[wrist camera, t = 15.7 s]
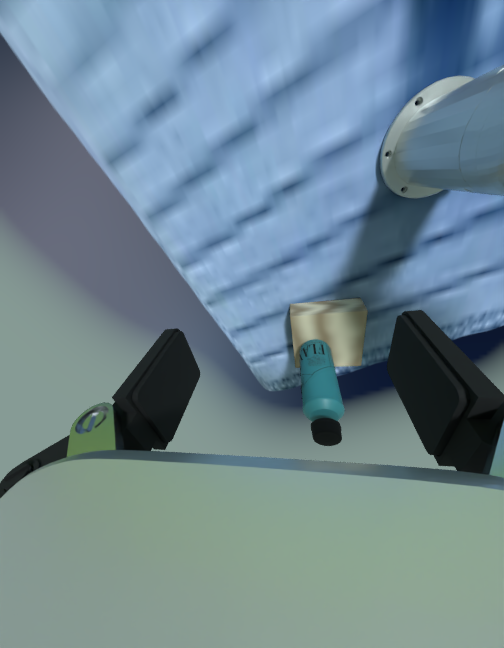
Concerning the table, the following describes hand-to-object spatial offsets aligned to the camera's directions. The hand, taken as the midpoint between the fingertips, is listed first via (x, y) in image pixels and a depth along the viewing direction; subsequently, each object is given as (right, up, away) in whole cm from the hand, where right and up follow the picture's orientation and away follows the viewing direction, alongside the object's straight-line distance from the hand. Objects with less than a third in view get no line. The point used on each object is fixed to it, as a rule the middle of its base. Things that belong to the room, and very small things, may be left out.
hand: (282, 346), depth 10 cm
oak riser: (+15, 0, +40) cm, 42 cm away
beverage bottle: (+12, -4, +37) cm, 39 cm away
